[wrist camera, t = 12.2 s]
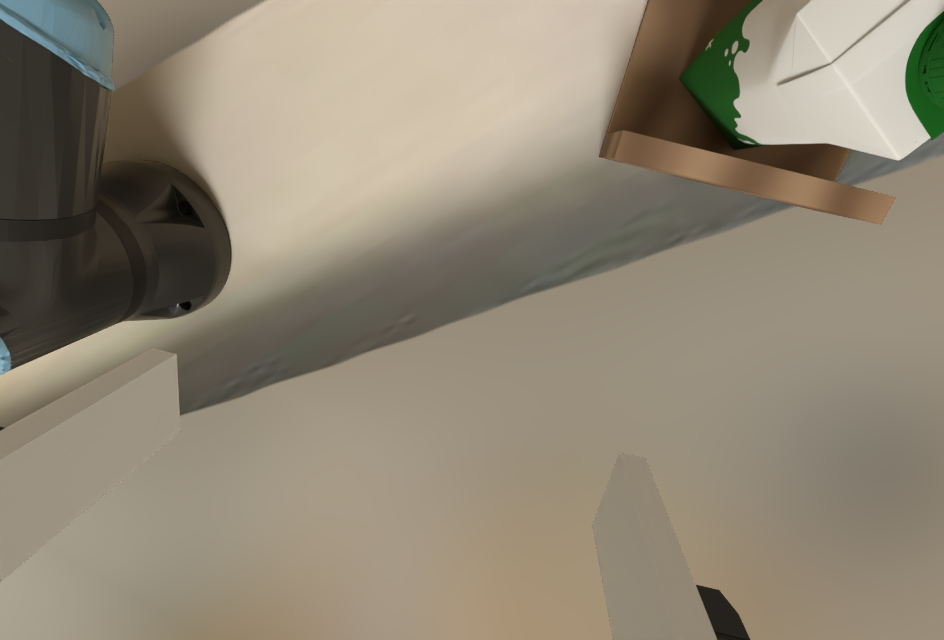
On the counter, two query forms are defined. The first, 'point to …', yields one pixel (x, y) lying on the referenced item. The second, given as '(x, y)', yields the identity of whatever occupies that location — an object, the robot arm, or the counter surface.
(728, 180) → the u rest
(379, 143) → the counter surface
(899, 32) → the soya milk
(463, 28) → the counter surface
